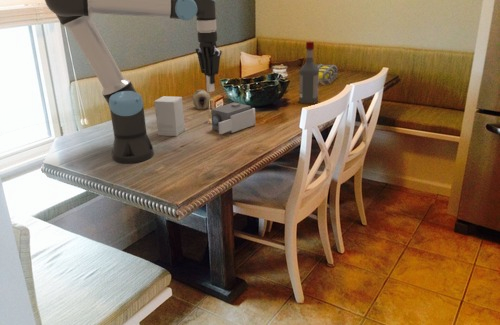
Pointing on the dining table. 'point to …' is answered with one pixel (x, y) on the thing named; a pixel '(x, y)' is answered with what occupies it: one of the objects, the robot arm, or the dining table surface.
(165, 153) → the dining table surface
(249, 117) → the side door
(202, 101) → the garlic bulb
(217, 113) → the camera case
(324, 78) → the cage light
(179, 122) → the supplement box
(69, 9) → the robot arm
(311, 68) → the liquor
